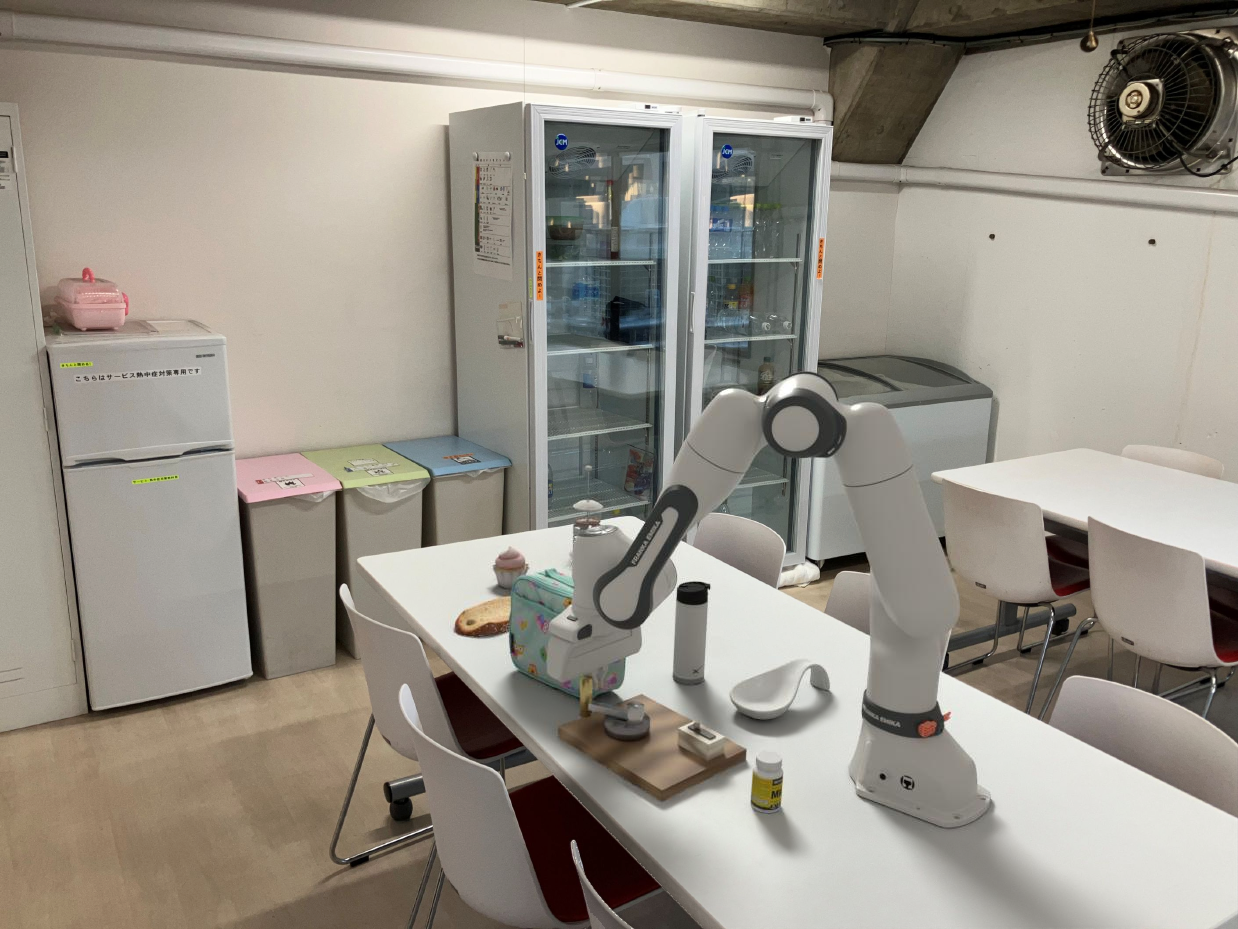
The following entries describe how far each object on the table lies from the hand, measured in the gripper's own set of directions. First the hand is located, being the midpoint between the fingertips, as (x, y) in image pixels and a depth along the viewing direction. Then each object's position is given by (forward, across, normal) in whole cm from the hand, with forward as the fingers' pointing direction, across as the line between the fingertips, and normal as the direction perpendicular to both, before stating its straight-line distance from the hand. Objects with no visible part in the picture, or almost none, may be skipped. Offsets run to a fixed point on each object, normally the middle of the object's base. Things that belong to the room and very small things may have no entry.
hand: (595, 688), depth 176 cm
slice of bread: (+8, -17, -51) cm, 54 cm away
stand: (+7, -2, +12) cm, 14 cm away
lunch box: (+7, -8, -18) cm, 21 cm away
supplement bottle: (+8, -2, +36) cm, 37 cm away
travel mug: (+8, -27, -2) cm, 28 cm away
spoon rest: (+8, -33, +17) cm, 38 cm away
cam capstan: (+5, +1, +5) cm, 7 cm away
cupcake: (+7, -34, -66) cm, 75 cm away
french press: (+7, -65, -72) cm, 97 cm away
